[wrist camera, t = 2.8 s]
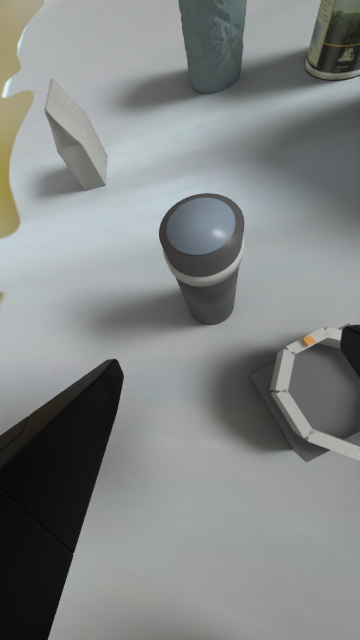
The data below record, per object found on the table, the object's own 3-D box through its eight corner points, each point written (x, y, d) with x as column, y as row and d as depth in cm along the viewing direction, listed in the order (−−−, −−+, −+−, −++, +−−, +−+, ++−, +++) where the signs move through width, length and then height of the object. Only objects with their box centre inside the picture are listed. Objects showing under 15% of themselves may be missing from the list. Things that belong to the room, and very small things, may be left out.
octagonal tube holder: (297, 458, 18) (326, 485, 13) (245, 369, 21) (252, 364, 16) (394, 409, 17) (462, 417, 12) (327, 326, 20) (360, 307, 15)
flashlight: (201, 334, 23) (179, 281, 11) (180, 296, 24) (143, 217, 13) (244, 311, 22) (267, 233, 11) (220, 274, 24) (217, 175, 13)
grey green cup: (191, 103, 35) (176, -30, 24) (182, 71, 38) (165, -58, 27) (252, 82, 34) (266, -70, 23) (237, 51, 37) (243, -95, 26)
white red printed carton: (107, 156, 35) (65, 72, 26) (105, 185, 33) (59, 105, 24) (87, 161, 36) (40, 82, 26) (84, 190, 34) (31, 115, 24)
